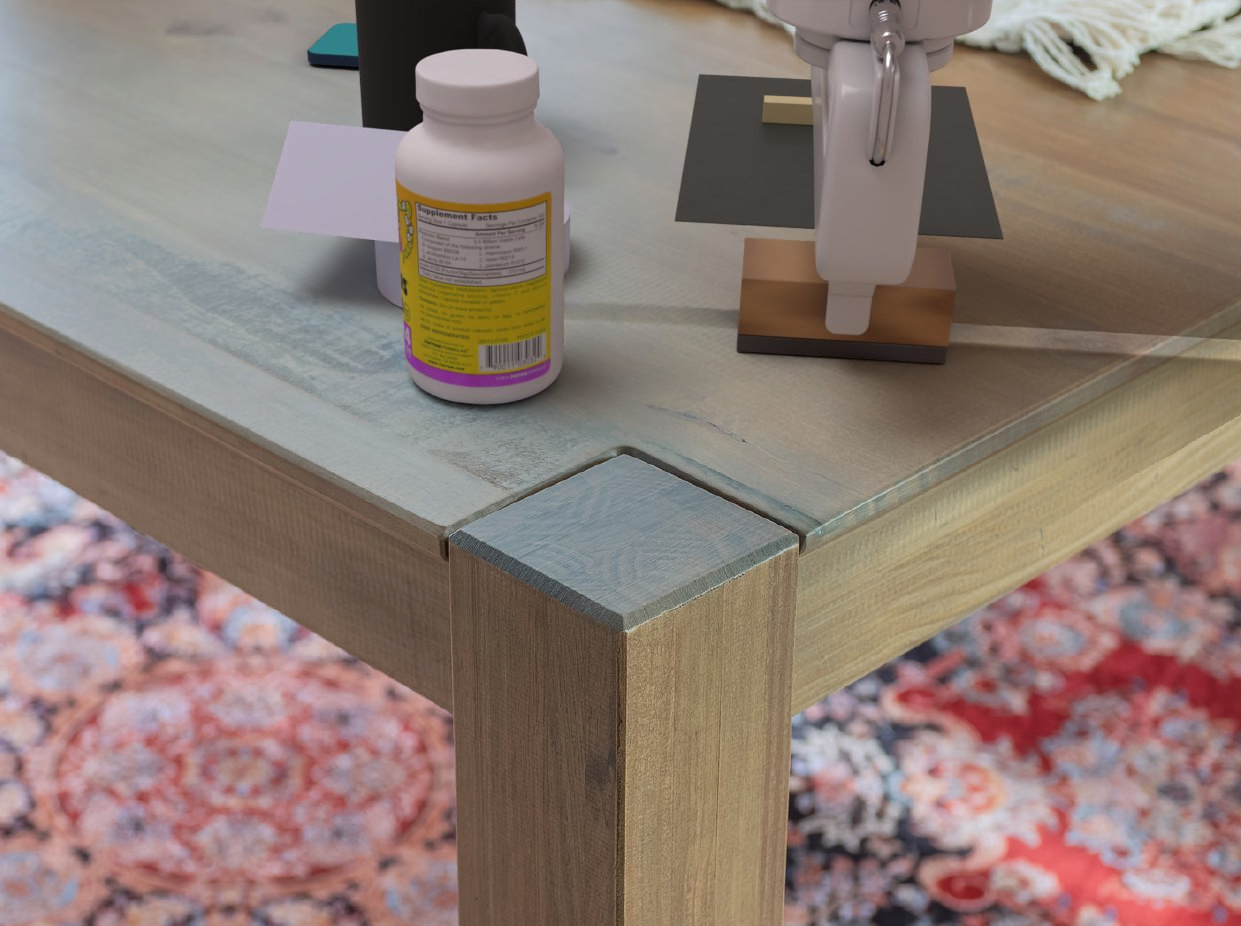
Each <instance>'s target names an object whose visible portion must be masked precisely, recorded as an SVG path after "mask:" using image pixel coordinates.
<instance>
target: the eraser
mask: <svg viewBox="0 0 1241 926" xmlns="http://www.w3.org/2000/svg"><path fill="white" fill-rule="evenodd" d="M741 269H742V270H741V282H740V283H741V284H740V295H739V296H740V297H739V310H738V322H737V323H738V324H737V335H736V348H735V349H736V351H737V352H744V353H762V354H778V355H796V356H810V357H828V358H842V359H844V358H845V359H857V360H859V359H860V360H876V361H877V360H878V361H893V362H894V361H895V362H909V363H910V362H911V363H925V364H942V365H944V364H946V362H947V355H948V349H949V348H948V346H949V342H950V337H951V330H952V324H953V317H954V311H955V306H956V305H955V304H956V299H957V292H958V291H957V285H956V280H955V279H956V278H955V275H954V269H953V264H952V258H951V252H950V249H949V248H942V247H941V248H940V247H922V246H916V252H915V257H914V262H913V266H912V269H911V271H910V274H909V276H908V278H907V280H906V281H905V282H903V283H901V284H897V285H876V287H875V290H874V294H873V297H872V302H871V310H870V318H869V325H868V328H867V330H866V331H865V332H864V333H863V334H860V335H845V334H833V333H831V332H830V331H828V330H827V328H826V325H825V310H826V300H827V291H828V281H827V280H824V279H822V278H821V277H820V276H819V275H818V273H817V270H816V260H815V240H797V239H780V238H779V239H778V238H764V237H763V238H761V237H760V238H759V237H744V245H743V257H742V268H741Z"/></svg>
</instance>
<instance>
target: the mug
mask: <svg viewBox="0 0 1241 926" xmlns="http://www.w3.org/2000/svg"><path fill="white" fill-rule="evenodd" d="M516 4H517V3H516V0H354V6H355V7H354V8H355V9H354V10H355V23H356V26H357V43H358V60H359V67H358V73H359V74H358V76H359V89H360V92H359V93H360V109H361V120H362V121H361V125H362V126H361V127H363V128H374V129H384V130H395V131H405V132H409V131H410V130H411V129H412V128H414V127H415V126H417V125H418V124H420V123H422V122H423V112H424V111H423V110H422V109H421V107H420V103H419V102H418V100H417V98H416V66H417V64H418V63H419V62H420V61H421V60H423V59H424V58H426V57H428V56H431V55H434V54H438V53H442V52H446V51H452V50H462V49H496V50H504V51H510V52H515V53H518V54H522V55H525V56H527V57H529V55H528V51H527V47H526V43H525V40H524V38H523V35H522V33H521V31H520V30H519V29H520V28H519V27H518V25H517V19H516V18H517V11H516V10H517V7H516V6H517V5H516Z"/></svg>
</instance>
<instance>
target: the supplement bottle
mask: <svg viewBox="0 0 1241 926" xmlns="http://www.w3.org/2000/svg"><path fill="white" fill-rule="evenodd" d="M540 89H541V88H540V67H539V65H538V63H537V61H535V60H534V59H533V58H531V57H529V56H528V57H527V56H525V55H522V54H518V53H515V52H510V51H504V50H496V49H462V50H452V51H446V52H442V53H438V54H434V55H431V56H428V57H426V58H424V59H423V60H421V61H420V62H419V63H418V64H417V66H416V98H417V100H418V102H419V103H420V107H421V109H422V110H423V111H424V112H423V122H422V123H420V124H418V125H417V126H415V127H414V128H412V129H411V130H410V131H409V132H408V133H407V134H406V135H405V136H404V137H403V138H402V140H401V142H400V144H399V146H398V148H397V151H396V155H395V181H396V197H397V215H398V233H399V252H400V271H401V290H402V308H401V309H402V325H403V326H402V327H403V342H404V345H403V346H404V353H405V365H406V369H407V372H408V375H409V376H410V378H411V379H412V381H413V382H414V383H415V384H416V385H417V386H418V387H419V388H420V389H422V390H423V391H425V392H426V393H428V394H429V395H432V396H434V397H436V398H439V399H443V400H446V401H449V402H454V403H462V404H470V405H471V404H472V405H498V404H499V405H500V404H507V403H512V402H518V401H520V400H524V399H527V398H529V397H533V396H534V395H536V394H538V393H541V392H542V391H544V390H545V389H547V388H548V387H549V386H550V385H552V384H553V383H554V381H555V380H556V379H557V378H558V376H559V375H560V373H561V371H562V368H563V363H564V336H565V335H564V331H565V330H564V329H565V327H564V324H565V323H564V319H565V318H564V317H565V316H564V315H565V314H564V313H565V312H564V311H565V310H564V308H565V307H564V305H565V304H564V303H565V301H564V300H565V299H564V295H565V293H564V292H565V289H564V287H565V286H564V285H565V284H564V282H565V281H564V280H565V278H564V277H565V276H564V275H565V274H564V200H565V156H564V151H563V148H562V145H561V144H560V142H559V140H558V139H557V137H556V136H555V134H554V133H553V132H552V131H551V130H550V129H548V128H547V127H546V126H545V125H543V124H541V123H540V122H538V121H536V120H535V110H536V109H537V106H538V101H539V99H540V97H541V95H540V94H541V91H540Z"/></svg>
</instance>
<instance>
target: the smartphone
mask: <svg viewBox="0 0 1241 926" xmlns="http://www.w3.org/2000/svg"><path fill="white" fill-rule="evenodd" d="M306 53H307V62H308V63H309V64H311V65H320V66H321V65H322V66H337V67H339V66H340V67H354V68H359V60H358V43H357V26H356V22H355V23H354V22H341V23H336V24H334V25H332V26H331V27H330V28H329V29H328V30H327V31H326V32H325V33H323V35H322V36H321V37H319V39H317V40H316V42H314V43H313V44H312V45H311V46H310V47H309V48H308V49H307V51H306Z"/></svg>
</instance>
